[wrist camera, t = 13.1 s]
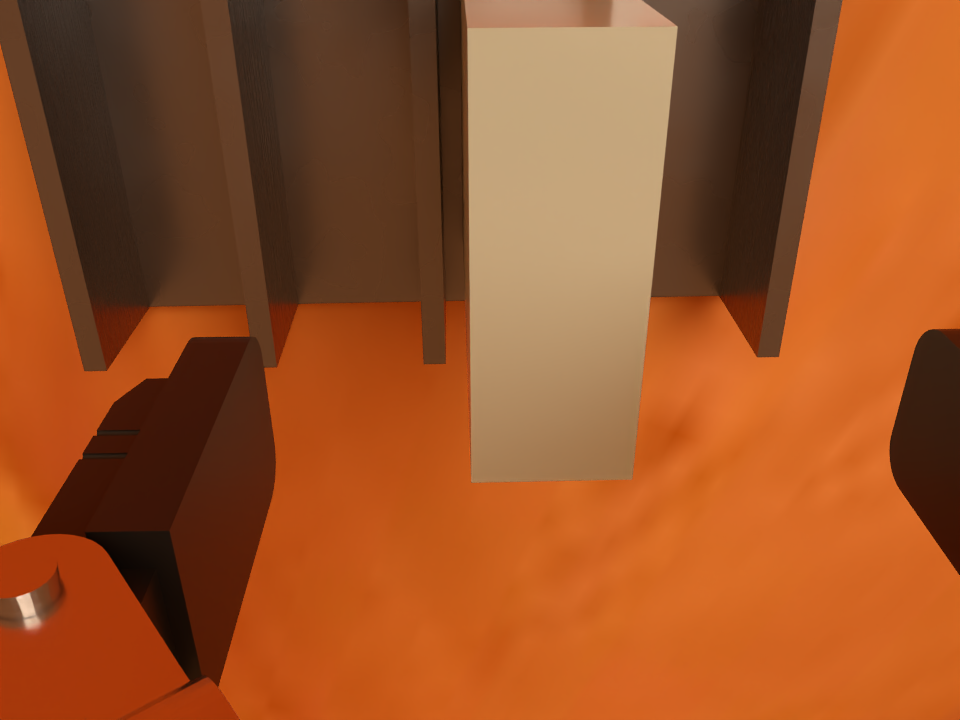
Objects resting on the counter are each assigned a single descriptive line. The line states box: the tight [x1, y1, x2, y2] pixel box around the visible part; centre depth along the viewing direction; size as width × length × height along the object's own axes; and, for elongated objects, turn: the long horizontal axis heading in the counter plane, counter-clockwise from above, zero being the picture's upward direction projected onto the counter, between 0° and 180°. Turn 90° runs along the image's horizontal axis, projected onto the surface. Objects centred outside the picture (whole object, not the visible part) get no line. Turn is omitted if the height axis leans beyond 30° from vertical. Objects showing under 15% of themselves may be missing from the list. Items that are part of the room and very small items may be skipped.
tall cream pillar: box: [460, 0, 678, 483], centre depth 20 cm, size 8×3×12 cm, turn 1°
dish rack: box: [0, 0, 842, 371], centre depth 24 cm, size 12×21×5 cm, turn 91°
